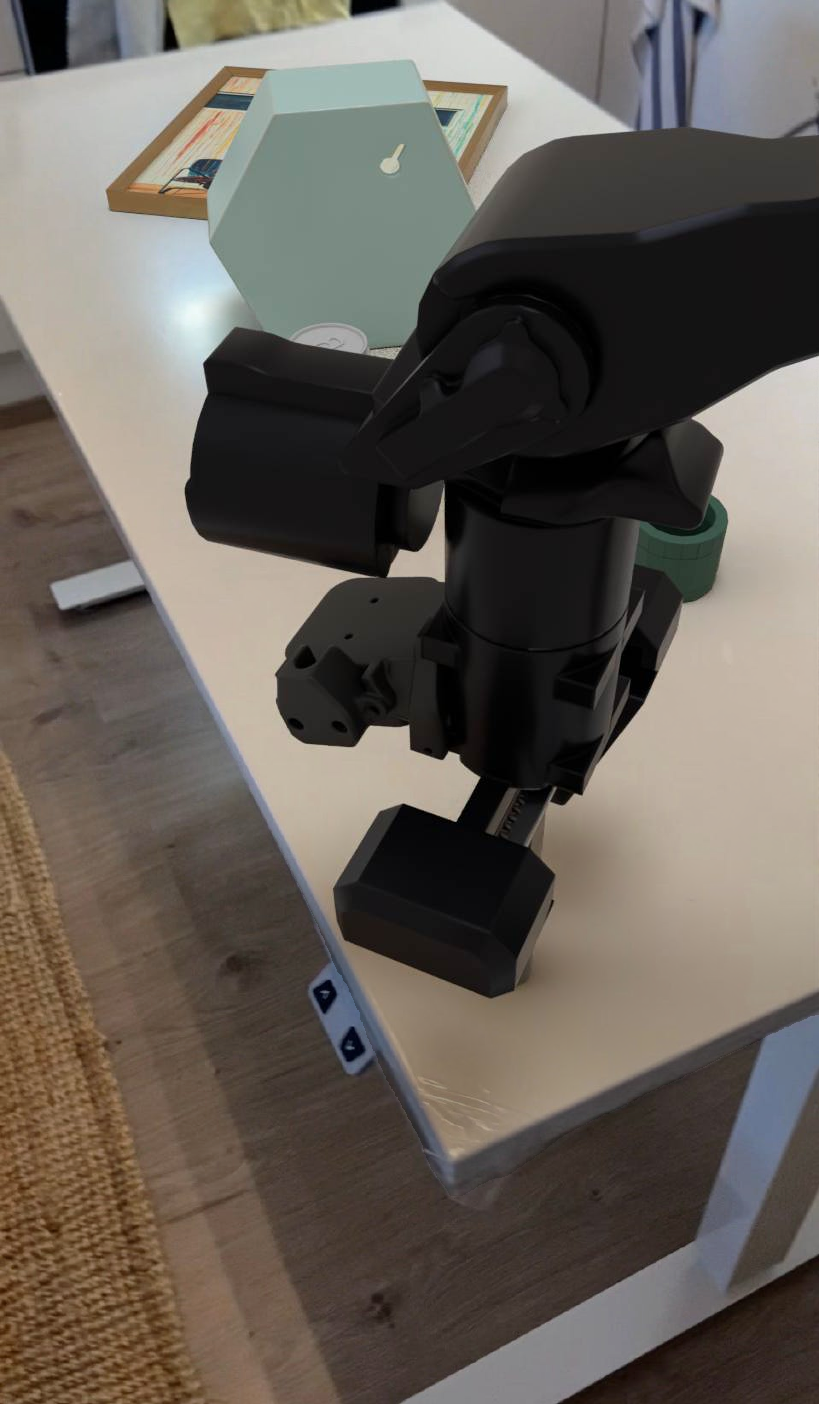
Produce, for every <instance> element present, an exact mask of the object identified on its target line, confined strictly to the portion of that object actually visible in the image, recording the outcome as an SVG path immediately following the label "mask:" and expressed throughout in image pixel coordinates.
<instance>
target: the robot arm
mask: <svg viewBox="0 0 819 1404" xmlns="http://www.w3.org/2000/svg"><path fill="white" fill-rule="evenodd" d="M817 357H819V134H814V135H813V134H812V135H798V136H785V137H774V138H773V137H771V138H770V137H758V136H752V135H745V134H738V133H730V132H725V131H718V130H713V129H712V130H711V129H706V128H699V127H692V126H679V127H678V126H677V127H667V128H655V129H644V130H643V129H642V130H632V131H631V130H630V131H619V132H618V131H617V132H607V133H605V132H604V133H593V134H580V135H571V136H566V137H560V138H554V139H553V140H551V141H550V140H549V141H548V142H546V143H544V144H541V145H539V146H537V147H535V148H533V149H530V150H528V151H526V152H524V153H523V154H521V156H519V157H518V158H517V159H516V160H515V161H514V162H512V163H511V164H510V165H509V166H508V167H507V168H506V169H505V171H504V172H503V173H502V175H501V176H500V177H499V178H498V180H497V181H496V182H495V184H494V185H493V187H492V188H491V190H490V191H489V192H488V194H487V196H486V197H485V198H484V200H483V201H482V202H481V204H480V205H479V207H478V208H477V211H476V213H475V214H474V216H473V217H472V219H471V220H470V221H469V223H468V224H467V226H466V227H465V229H464V230H463V232H462V233H461V234H460V236H459V237H458V239H457V240H456V242H455V243H454V244H453V246H452V247H451V249H450V250H449V252H448V253H447V255H446V256H445V257H444V259H443V260H442V262H441V263H440V265H439V266H438V268H437V269H436V270H435V272H434V273H433V275H432V277H431V279H430V282H429V284H428V286H427V288H426V290H425V292H424V294H423V296H422V298H421V301H420V303H419V308H418V319H417V326H416V328H415V329H414V331H413V332H412V334H411V335H410V337H409V338H408V340H407V341H406V343H405V344H404V345H403V346H402V347H401V348H400V350H399V352H398V353H397V355H395V358H394V359H393V358H387V357H381V356H375V355H372V354H371V355H365V354H359V353H353V352H347V351H341V350H335V349H329V348H324V347H318V346H312V345H306V344H301V343H296V342H292V341H290V340H287V339H285V338H283V337H280V336H278V335H275V334H272V333H268V332H264V330H258V329H252V328H247V327H241V326H234V327H233V328H232V329H231V330H230V331H229V332H228V333H227V334H226V335H225V337H224V338H223V339H222V340H221V342H220V343H219V344H218V345H217V346H216V347H215V349H214V350H213V351H212V352H211V353H210V354H209V355H208V357H206V359H205V360H204V361H203V363H202V366H203V367H202V368H203V374H204V379H205V384H206V385H205V386H206V390H207V394H206V397H205V398H204V402H203V404H202V407H201V410H200V413H199V415H198V418H197V423H196V427H195V431H194V436H193V441H192V444H191V445H192V447H191V455H190V465H189V478H188V479H187V480H186V483H185V484H184V485H185V486H184V499H185V506H186V510H187V513H188V516H189V519H190V522H191V525H192V527H193V528H194V529H195V531H196V533H197V534H198V536H199V537H201V538H203V539H204V540H205V541H207V542H210V543H215V544H218V545H223V546H228V547H233V548H237V549H241V550H246V551H251V552H255V553H260V554H264V555H269V556H273V557H274V556H275V557H278V558H282V559H288V560H293V561H296V562H301V563H305V564H311V565H315V566H320V567H323V568H329V569H333V570H338V571H341V572H347V573H352V574H356V575H362V576H365V577H354V578H353V577H352V578H349V579H345V580H343V581H341V582H339V583H337V584H336V585H334V586H333V587H332V588H330V589H329V590H328V591H327V592H326V593H325V594H324V595H323V597H322V599H321V600H320V601H319V602H318V604H317V605H316V606H315V607H314V609H313V610H312V612H311V613H310V614H309V615H308V617H307V618H306V620H305V621H304V622H303V624H302V625H301V626H300V628H298V630H297V631H296V633H295V634H294V635H293V637H292V638H291V639H290V641H289V642H288V643H287V645H286V647H285V651H284V657H285V659H284V661H283V662H282V663H281V665H280V666H279V668H278V669H277V670H276V672H275V673H274V676H275V678H276V698H275V704H276V706H277V710H278V712H279V715H280V717H281V718H282V720H283V722H284V724H285V726H286V728H287V729H288V731H289V733H290V735H291V736H293V738H295V739H296V740H297V741H299V742H301V743H302V744H305V745H315V746H326V747H337V748H338V747H340V748H341V747H342V748H355V747H356V746H357V745H358V744H359V743H360V740H361V739H362V738H363V736H364V735H365V734H366V732H367V730H368V728H369V727H382V728H383V727H384V728H402V727H407V726H408V731H409V750H410V751H412V752H415V753H418V754H420V755H424V756H427V757H430V758H432V759H436V760H439V761H444V760H445V759H446V757H447V756H448V754H449V753H453V754H455V755H458V756H459V762H460V763H461V764H462V765H463V766H464V767H465V768H466V769H467V770H469V771H470V772H471V773H473V774H474V775H475V776H477V777H479V779H478V781H477V783H476V785H475V786H474V788H473V791H472V792H471V793H470V795H469V797H468V799H467V801H466V804H465V805H464V807H463V808H462V810H461V812H460V814H459V816H458V818H457V820H456V821H455V820H452V819H449V818H446V817H444V816H441V815H438V814H435V813H432V812H430V811H427V810H423V809H421V808H418V807H415V806H413V805H410V804H407V803H404V802H403V803H400V804H397V805H394V806H391V807H388V808H385V809H382V810H380V811H378V812H377V814H376V816H375V817H374V820H373V821H372V822H371V825H370V826H369V827H368V829H367V831H366V833H365V834H364V836H363V837H362V839H361V841H360V843H359V844H358V846H357V847H356V849H355V851H354V852H353V854H352V856H351V858H350V859H349V860H348V862H347V864H346V866H345V867H344V869H343V871H342V872H341V874H340V875H339V877H338V879H337V881H336V882H335V884H334V886H333V887H332V894H333V902H334V910H335V918H336V919H335V920H336V923H337V925H338V928H339V930H340V933H341V936H342V939H343V941H345V942H347V943H350V944H352V945H355V946H357V947H359V948H362V949H365V950H367V951H370V952H372V953H374V954H377V955H380V956H382V957H385V958H387V959H389V960H392V961H395V962H397V963H400V964H401V965H402V964H403V965H404V966H407V967H410V968H412V969H415V970H416V971H420V972H422V973H425V974H427V975H430V976H433V977H435V978H437V979H440V980H442V981H445V982H447V983H450V984H452V985H455V986H457V987H460V988H462V989H465V990H467V991H470V992H472V993H474V994H477V995H480V996H482V997H485V998H488V999H490V1000H491V999H495V998H497V997H500V996H503V995H506V994H509V993H512V992H515V991H516V988H517V986H518V985H517V984H518V981H519V979H520V977H521V975H522V973H523V970H524V968H525V966H526V964H527V961H528V959H529V957H530V955H531V953H532V951H533V952H534V948H535V946H536V944H537V942H538V940H539V937H540V935H541V933H542V931H543V928H544V926H545V924H546V922H547V920H548V917H549V915H550V913H551V911H552V908H553V906H554V904H555V899H553V897H554V893H555V885H556V875H557V874H556V873H555V872H554V871H553V870H552V869H551V868H550V867H549V866H548V865H547V864H546V863H545V862H544V861H543V860H542V858H541V859H540V858H539V857H538V856H537V855H536V854H535V853H534V852H533V851H532V850H531V849H530V848H529V847H528V846H529V844H530V842H531V839H532V837H533V835H534V833H535V831H536V829H537V827H538V825H539V823H540V821H541V819H542V817H543V815H544V813H545V811H546V812H547V809H548V807H549V804H550V803H552V804H555V805H557V806H562V807H563V806H566V805H567V804H568V803H569V801H570V800H571V799H572V797H573V796H575V795H578V796H581V797H583V795H584V793H585V791H586V789H587V786H588V784H589V782H590V780H591V778H592V776H593V774H594V772H595V770H596V768H597V766H598V764H599V763H600V762H601V761H602V759H603V758H604V756H605V755H606V754H607V752H608V751H609V750H610V749H611V747H612V746H613V745H614V743H615V742H616V741H617V740H618V738H619V737H620V736H621V734H622V733H623V732H624V731H625V730H626V728H627V727H628V725H629V724H630V723H631V721H632V720H633V719H634V718H635V716H636V715H637V714H638V712H639V711H640V710H641V708H642V707H643V706H644V705H645V703H646V700H647V699H648V696H649V694H650V692H651V690H652V687H653V686H654V683H655V681H656V679H657V676H658V674H659V672H660V669H661V668H662V664H663V663H664V660H665V658H666V656H667V653H668V652H669V649H670V646H671V645H672V643H673V640H674V638H675V636H676V633H677V631H678V629H679V623H680V617H681V613H682V607H683V603H684V602H683V597H684V595H683V594H682V593H681V591H680V590H679V589H678V588H677V587H676V585H675V584H674V583H673V582H672V580H671V579H670V578H669V577H668V576H667V574H666V573H665V572H664V571H660V570H657V569H653V568H649V567H645V566H642V565H638V564H634V562H635V555H636V548H637V542H638V535H639V528H640V521H643V522H649V523H654V524H659V525H664V526H669V527H674V528H679V529H684V530H692V529H696V528H697V527H699V526H700V525H701V524H702V522H703V520H704V517H705V513H706V510H707V507H708V503H709V500H710V497H711V495H712V492H713V491H714V486H715V483H716V479H717V477H718V472H719V469H720V466H721V463H722V459H723V456H724V452H725V448H724V444H723V443H722V442H721V440H720V439H719V438H717V437H716V436H715V435H714V434H713V433H712V432H711V431H710V430H709V429H707V427H705V425H704V424H703V423H701V422H699V421H697V420H695V419H693V418H694V417H696V416H698V415H700V414H701V413H703V412H704V411H707V410H708V409H710V408H711V407H713V406H716V405H717V404H719V403H721V402H722V401H724V400H726V399H727V398H729V397H731V396H733V395H734V394H736V393H738V392H739V391H741V390H743V389H745V388H746V387H748V386H751V385H753V383H755V382H757V381H758V380H760V379H763V378H764V377H765V376H767V375H769V374H771V373H774V372H775V371H778V370H780V369H782V368H785V367H786V368H787V367H789V366H793V365H795V364H798V363H801V362H802V363H803V362H805V361H809V360H810V359H814V358H817ZM443 495H444V499H443V500H444V501H443V502H444V504H443V505H444V507H443V508H444V509H443V510H444V511H443V512H444V514H443V515H444V581H439V580H438V579H436V578H434V577H430V576H389V574H390V570H391V566H392V564H393V563H394V562H395V559H396V558H397V556H398V554H399V552H400V550H402V551H407V552H410V553H411V552H412V553H418V552H419V551H420V550H422V549H423V548H424V547H425V545H426V544H427V542H428V540H429V538H430V536H431V534H432V532H433V529H434V526H435V524H436V521H437V518H438V515H439V510H440V506H441V505H442V504H441V503H442V498H443ZM520 789H521V793H520V796H521V797H517V799H516V805H513V806H512V804H513V802H514V800H515V798H516V796H517V794H518V792H519V790H520ZM511 806H512V813H513V814H508V819H507V822H504V824H503V831H500V832H499V837H497V836H496V835H497V833H498V831H499V829H500V827H501V825H502V823H503V821H504V819H505V817H506V815H507V813H508V811H509V809H510V807H511Z"/></svg>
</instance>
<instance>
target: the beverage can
mask: <svg viewBox="0 0 819 1404" xmlns="http://www.w3.org/2000/svg"><path fill="white" fill-rule="evenodd" d="M290 341H292V342H296V343H301V344H306V345H312V346H318V347H324V348H329V349H335V350H341V351H347V352H353V353H359V354H365V355H371V356H372V354H371V349H369V347H368V344H367V338H366V336H365V334H364V333H363V332H361V331H360V330H359V329H357V328H355V327H353V326H350V325H346V324H341V323H321V324H316V325H311V326H308V327H305V328H303V329H301V330H299V331H298V332H296V333H295V334H294V335H293V336H292V337H291V338H290Z"/></svg>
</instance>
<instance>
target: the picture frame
mask: <svg viewBox="0 0 819 1404" xmlns="http://www.w3.org/2000/svg"><path fill="white" fill-rule="evenodd" d="M269 70H277V69H275V68H261V67H260V68H259V67H245V66H232V65H231V66H230V65H224V66H223V67H222V68H221V69H220V70H219V71H218V72H217V73H216V74H215V76H214V77H212V79H210V81H209V82H207V84H205V86H204V87H203V88H202V89H201V90H200V91H199V92H198V93H197V94H196V95H195V96H194V97H193V98H192V99H191V100H190V101H189V102H188V104H186V106H184V108H183V109H182V110H181V111H180V112H179V113H178V114H177V115H176V116H175V117H174V118H173V119H172V120H171V121H170V122H169V123H168V124H167V125H166V126H165V128H164V129H162V131H160V133H159V134H158V135H156V136H155V138H154V139H153V140H152V141H151V142H150V143H149V144H148V145H147V146H146V147H145V148H144V149H143V150H142V151H141V152H140V153H139V154H138V156H136V158H134V160H133V161H132V162H131V163H130V164H129V165H128V166H127V167H126V168H124V170H123V171H122V172H121V173H120V174H119V175H118V176H117V177H116V178H115V179H114V180H113V182H112V183H110V185H109V186H108V187H107V188H106V189H105V193H106V198H107V204H108V208H109V211H113V212H122V213H131V214H141V215H142V214H144V215H153V216H154V215H155V216H163V217H175V218H183V219H184V218H186V219H195V220H205V221H208V214H207V196H206V195H207V192H208V190H209V187H210V185H211V183H212V181H213V179H214V177H215V175H216V173H217V171H218V169H219V167H220V165H221V163H222V161H223V159H224V157H225V154H226V152H227V150H228V148H229V146H230V144H231V142H232V140H233V138H234V136H235V134H236V132H237V130H238V128H239V126H240V124H241V122H242V120H243V118H244V116H245V113H246V111H247V109H248V107H249V105H250V103H251V101H252V99H253V97H254V95H255V93H256V91H257V89H258V87H259V85H260V83H261V81H262V79H263V77H264V75H265V73H266V72H267V71H269ZM422 81H423V83H424V86H425V88H426V90H427V93H428V95H429V97H430V100H431V102H432V104H433V107H434V109H435V111H436V114H437V116H438V118H439V121H440V123H441V125H442V128H443V130H444V132H445V135H446V137H447V139H448V142H449V144H450V146H451V149H452V151H453V153H454V156H455V158H456V160H457V163H458V165H459V167H460V170H461V172H462V174H463V177H464V179H465V181H466V184H467V185H468V184H469V182H470V180H471V178H472V176H473V174H474V172H475V170H476V169H477V166H478V164H479V162H480V160H481V158H482V156H483V155H484V152H485V151H486V148H487V146H488V144H489V142H490V140H491V138H492V136H493V135H494V132H495V130H496V128H497V126H498V124H499V122H500V121H501V119H502V117H503V114H504V113H505V110H506V108H507V106H508V98H509V97H508V94H509V85H503V84H502V85H501V84H489V83H473V82H461V81H460V82H458V81H444V80H433V79H432V80H431V79H422ZM403 147H404V144H401V145H399V146H398V148H397V150H396V151H395V153H394V154H393V156H392V158H386V159H384V160H383V161H382V162H381V164H380V167H381V169H382V171H383V172H385V173H388V174H392V173H395V172H396V171H397V170H398V169H399V162H398V160H397V158H398V156H399V154H400V152H401V151H402V149H403Z"/></svg>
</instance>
